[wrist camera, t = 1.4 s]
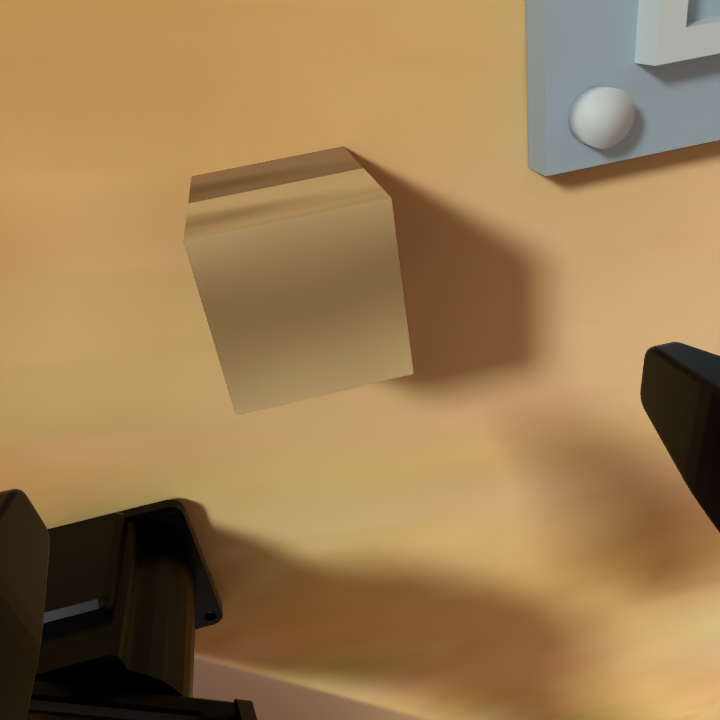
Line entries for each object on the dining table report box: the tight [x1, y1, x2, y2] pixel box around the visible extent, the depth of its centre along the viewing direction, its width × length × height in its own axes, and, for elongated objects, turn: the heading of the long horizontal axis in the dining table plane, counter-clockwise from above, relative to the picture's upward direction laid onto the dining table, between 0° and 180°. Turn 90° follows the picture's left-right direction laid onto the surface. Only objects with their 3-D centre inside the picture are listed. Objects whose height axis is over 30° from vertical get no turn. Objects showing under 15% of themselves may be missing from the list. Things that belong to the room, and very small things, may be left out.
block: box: [184, 147, 414, 416], centre depth 17 cm, size 4×4×6 cm
